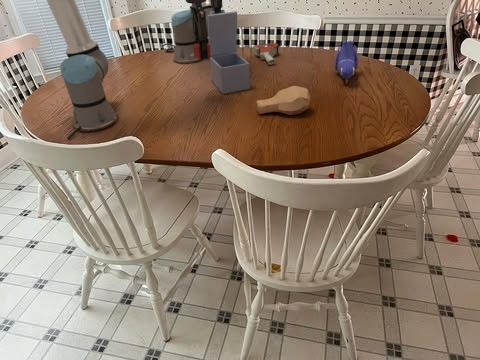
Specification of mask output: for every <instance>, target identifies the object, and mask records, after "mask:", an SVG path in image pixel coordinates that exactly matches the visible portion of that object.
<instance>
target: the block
mask: <svg viewBox="0 0 480 360" xmlns="http://www.w3.org/2000/svg"><path fill="white" fill-rule="evenodd" d="M193 49H194V57H195V58H197V59H199V60H200V61H202V60H203V59H201V54H200V46H199V43H197V44H193ZM207 50H208V58H207V59H210V57H212V56H211V53H210V45H209V43H207Z"/></svg>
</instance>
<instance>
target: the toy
mask: <svg viewBox="0 0 480 360" xmlns="http://www.w3.org/2000/svg"><path fill="white" fill-rule="evenodd" d="M353 44H354V41H353V40H349V41H347V40H344V41H342V45H339V46H338V48H337V50H336V53H335V56H334V70H335V71H336V72H337V73H338V74H339V75H340V76H341V77H342V79H344V82H345V85H348V82H349V80H350V79H351V78H352V77H353V76H354V75H355V74H356V70H357V69H358V66H359V53H358V49H357V46H356V45H353Z"/></svg>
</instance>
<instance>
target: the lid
mask: <svg viewBox="0 0 480 360" xmlns="http://www.w3.org/2000/svg"><path fill="white" fill-rule="evenodd" d="M237 42H238V11H237V10H235V11H228V12H226V11H225V9H221V13H219V14H215V12H214V11H210V15H208V44H209V45H210V53H211V57H212V56H219V55H225V54H231V53H237V50H238V49H237V46H238V44H237Z"/></svg>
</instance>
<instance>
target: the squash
mask: <svg viewBox="0 0 480 360" xmlns="http://www.w3.org/2000/svg"><path fill="white" fill-rule="evenodd" d="M311 98H312V97H311V95H310V90H309V89H307V88H306V87H302V86H298V85H292V86H289V87H287V88H283V89H280V90H279V91H277V92H276V94H275V95H274V96H272V97H271V98H265V99H257V100H256V102H255V103H256V107H257V109H256V110H257V113H258V114H259V115H263V114H266V113H273V112H275V113H282V114H284V115H287V116H295V115H300V114H301V113H303V112H305V111H306V110H308V109H309V107H310V102H311Z"/></svg>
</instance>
